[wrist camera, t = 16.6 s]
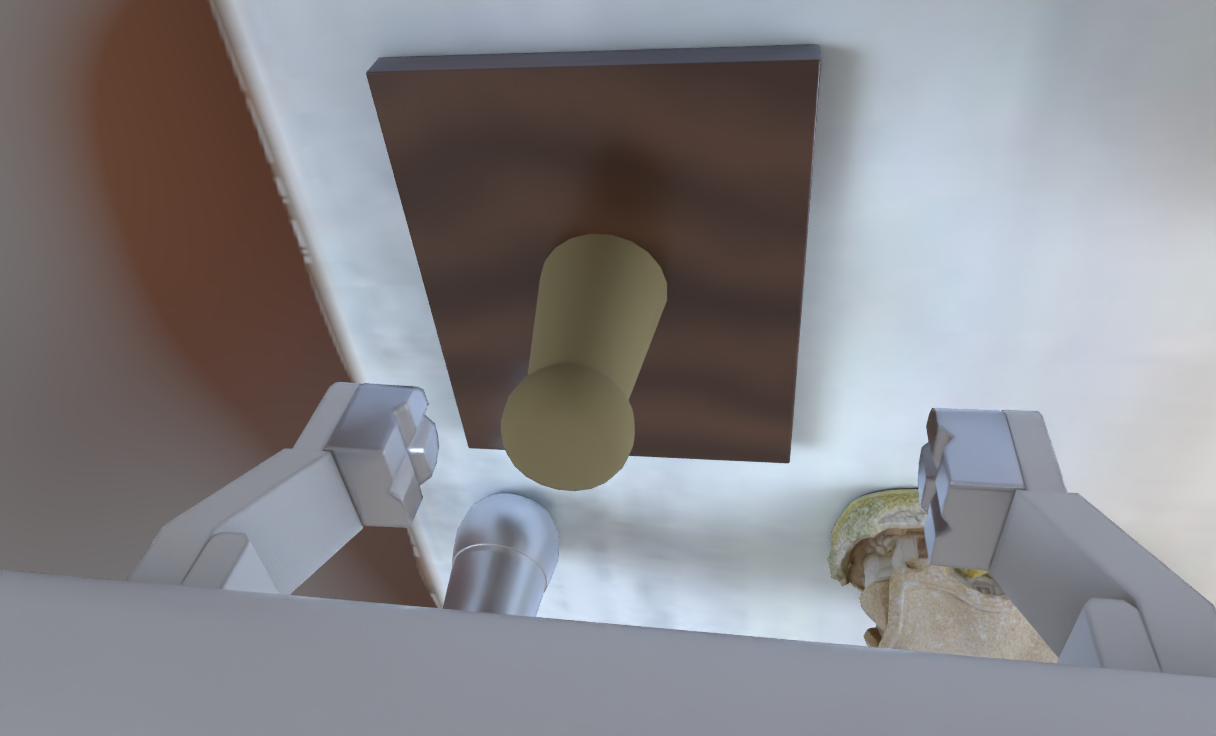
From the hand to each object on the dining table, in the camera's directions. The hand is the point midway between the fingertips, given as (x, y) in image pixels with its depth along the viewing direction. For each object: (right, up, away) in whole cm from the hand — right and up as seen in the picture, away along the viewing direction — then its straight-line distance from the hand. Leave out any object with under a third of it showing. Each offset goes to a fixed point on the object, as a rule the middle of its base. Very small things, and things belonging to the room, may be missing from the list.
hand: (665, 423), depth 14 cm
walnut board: (-1, +5, +28) cm, 28 cm away
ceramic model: (+19, -10, +37) cm, 43 cm away
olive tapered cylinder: (-1, +5, +26) cm, 27 cm away
